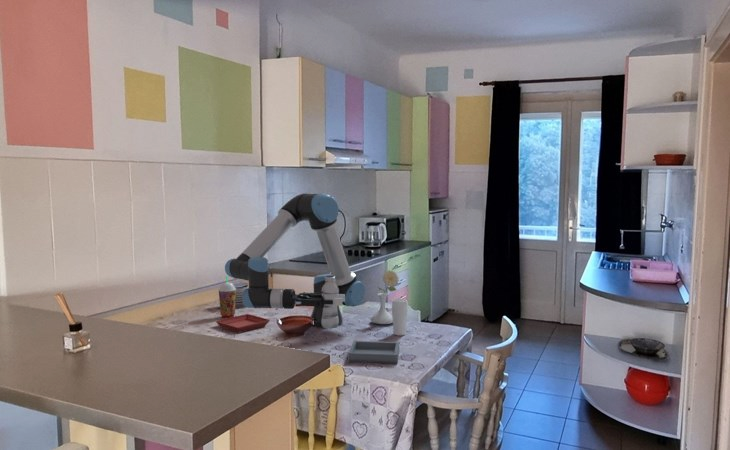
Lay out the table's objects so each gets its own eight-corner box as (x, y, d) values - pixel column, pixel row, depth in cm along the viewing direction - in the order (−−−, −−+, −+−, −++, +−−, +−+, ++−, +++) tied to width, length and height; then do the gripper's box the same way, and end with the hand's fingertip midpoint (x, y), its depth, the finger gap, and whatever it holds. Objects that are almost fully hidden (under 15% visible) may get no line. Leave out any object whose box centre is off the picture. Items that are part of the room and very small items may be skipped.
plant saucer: (214, 327, 255) (214, 320, 255) (247, 320, 268) (247, 313, 268) (237, 334, 243) (237, 327, 243) (270, 326, 256) (270, 319, 256)
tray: (353, 349, 221) (353, 340, 221) (399, 350, 219) (399, 342, 219) (348, 362, 205) (348, 353, 205) (397, 364, 203) (397, 354, 203)
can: (248, 308, 292) (248, 285, 291) (226, 309, 289) (225, 286, 288) (248, 303, 303) (248, 281, 302) (226, 304, 300) (226, 282, 300)
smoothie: (215, 318, 271) (214, 277, 269) (225, 314, 278) (225, 274, 277) (229, 319, 268) (229, 278, 266) (240, 315, 275) (239, 275, 274)
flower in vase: (371, 326, 256) (371, 272, 254) (370, 320, 267) (370, 268, 265) (399, 326, 256) (399, 272, 254) (397, 320, 267) (397, 268, 265)
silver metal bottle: (321, 326, 216) (320, 275, 214) (338, 325, 217) (338, 274, 215) (321, 330, 210) (320, 278, 208) (339, 330, 210) (339, 277, 208)
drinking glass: (406, 336, 239) (406, 302, 237) (390, 336, 240) (390, 301, 239) (408, 332, 245) (408, 299, 244) (392, 331, 247) (393, 298, 245)
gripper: (289, 302, 224) (347, 304, 221) (277, 314, 205) (339, 315, 202) (289, 284, 223) (346, 285, 221) (276, 294, 204) (339, 295, 202)
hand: (343, 299), depth 212 cm, fingers closed on silver metal bottle, 6 cm apart
